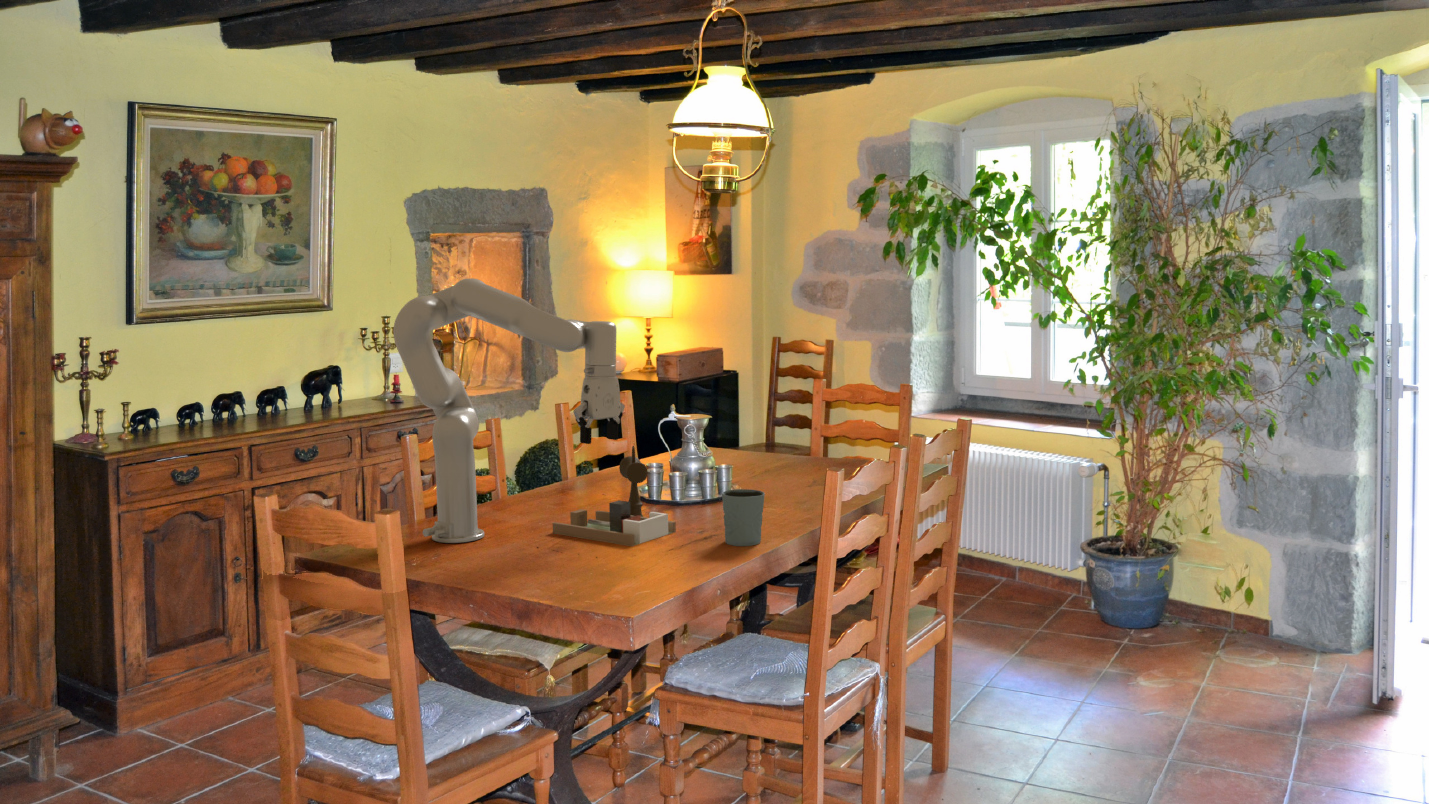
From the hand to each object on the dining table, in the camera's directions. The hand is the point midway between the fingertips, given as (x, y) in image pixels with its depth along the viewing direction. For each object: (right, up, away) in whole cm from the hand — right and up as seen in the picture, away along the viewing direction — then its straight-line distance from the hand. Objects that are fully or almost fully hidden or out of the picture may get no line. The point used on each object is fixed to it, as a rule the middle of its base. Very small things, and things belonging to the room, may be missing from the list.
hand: (599, 441), depth 282 cm
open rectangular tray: (+4, -24, 0) cm, 24 cm away
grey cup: (+35, -24, -7) cm, 43 cm away
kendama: (+8, -22, +16) cm, 28 cm away
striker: (+3, -22, 0) cm, 22 cm away
